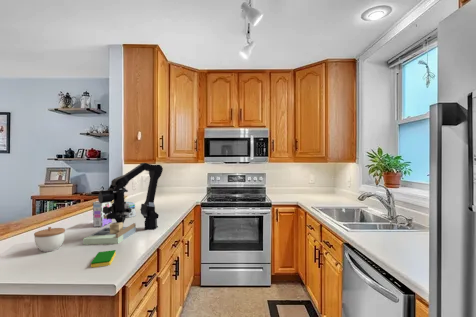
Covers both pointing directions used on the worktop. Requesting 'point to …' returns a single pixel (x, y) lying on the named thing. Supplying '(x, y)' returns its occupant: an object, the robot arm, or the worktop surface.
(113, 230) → the oak block
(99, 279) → the worktop surface
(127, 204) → the light bulb box
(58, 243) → the lidded bowl
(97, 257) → the dish sponge
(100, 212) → the candy box
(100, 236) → the board
